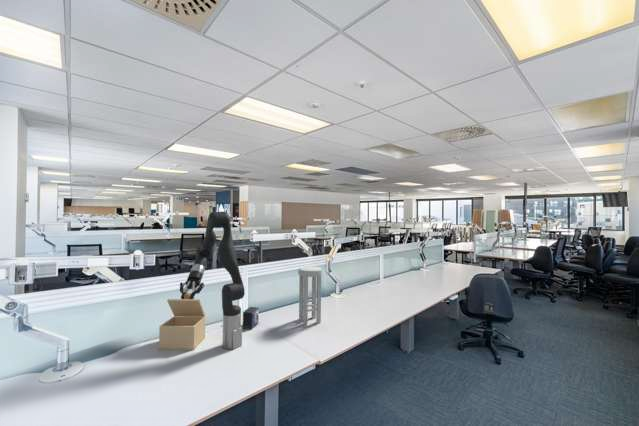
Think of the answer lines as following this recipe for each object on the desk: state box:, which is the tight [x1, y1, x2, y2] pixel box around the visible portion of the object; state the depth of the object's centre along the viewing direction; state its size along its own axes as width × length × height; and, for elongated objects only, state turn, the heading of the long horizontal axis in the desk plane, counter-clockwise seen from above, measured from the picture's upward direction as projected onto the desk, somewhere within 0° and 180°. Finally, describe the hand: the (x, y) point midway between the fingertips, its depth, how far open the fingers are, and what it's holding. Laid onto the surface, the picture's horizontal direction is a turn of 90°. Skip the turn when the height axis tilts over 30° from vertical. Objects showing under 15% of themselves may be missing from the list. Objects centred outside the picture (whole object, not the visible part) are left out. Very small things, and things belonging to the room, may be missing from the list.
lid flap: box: [166, 292, 206, 318], centre depth 156 cm, size 14×17×7 cm
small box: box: [242, 306, 260, 330], centre depth 175 cm, size 11×6×10 cm, turn 168°
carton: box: [158, 316, 206, 351], centre depth 150 cm, size 14×18×12 cm
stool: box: [297, 266, 323, 326], centre depth 185 cm, size 16×16×35 cm
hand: (186, 299), depth 153 cm, fingers closed on lid flap, 4 cm apart
